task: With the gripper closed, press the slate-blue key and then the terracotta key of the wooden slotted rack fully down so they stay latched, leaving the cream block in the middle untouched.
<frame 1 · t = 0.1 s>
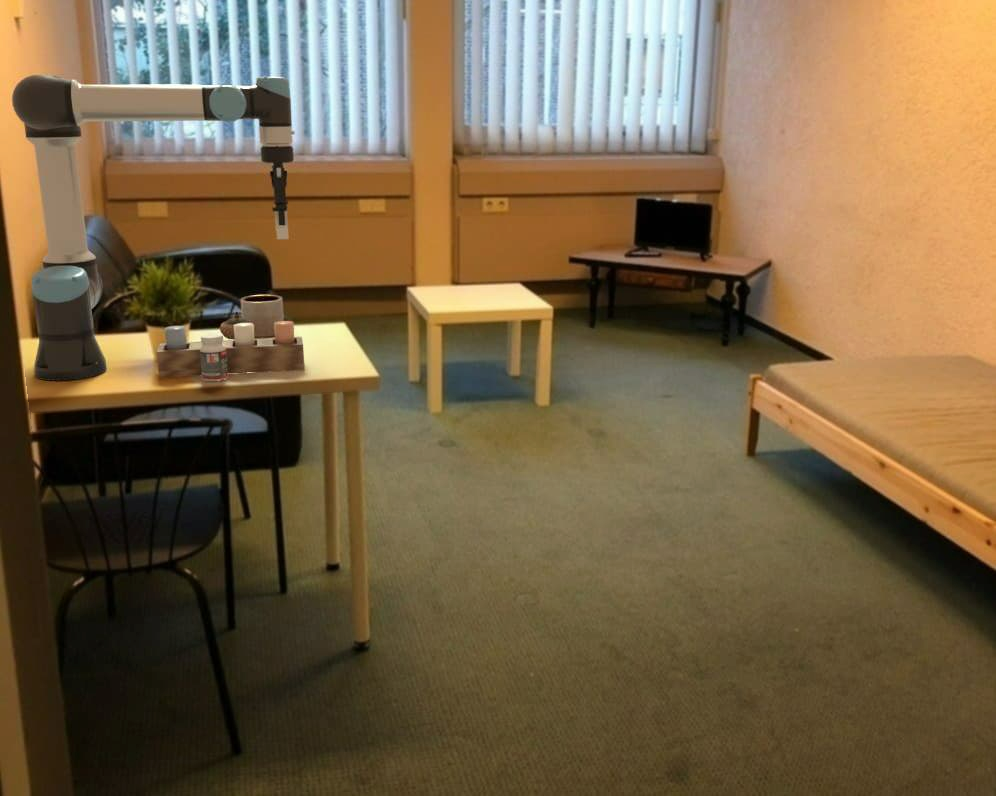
hand: (282, 235, 245), 28 cm above the table, fingers open, 13 cm apart
pill bottle: (215, 379, 225), on the table
cream block: (244, 336, 231), point 8 cm above the table, slide at 0.0 cm
planter: (263, 334, 267), on the table
slate key: (176, 340, 228), point 8 cm above the table, slide at 0.0 cm
acorn: (239, 351, 249), on the table
terracotta key: (284, 334, 233), point 8 cm above the table, slide at 0.0 cm
wooden slotted rack: (233, 369, 232), on the table
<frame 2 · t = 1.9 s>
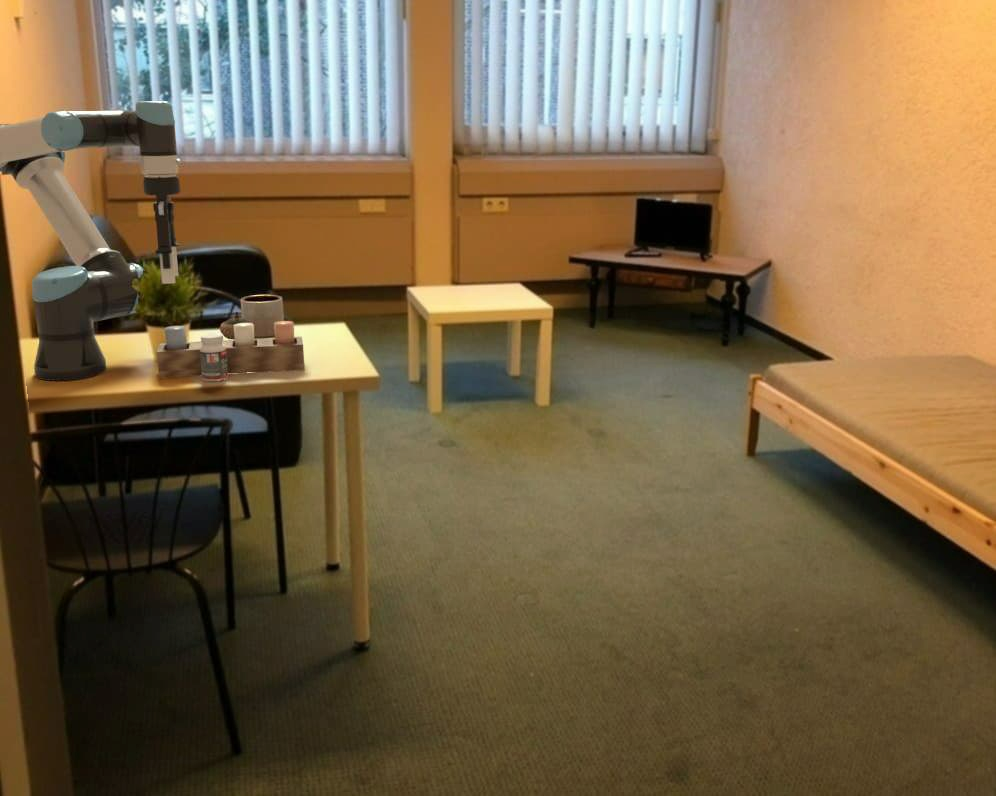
hand: (170, 279, 224), 21 cm above the table, fingers open, 9 cm apart
nothing on the table moved.
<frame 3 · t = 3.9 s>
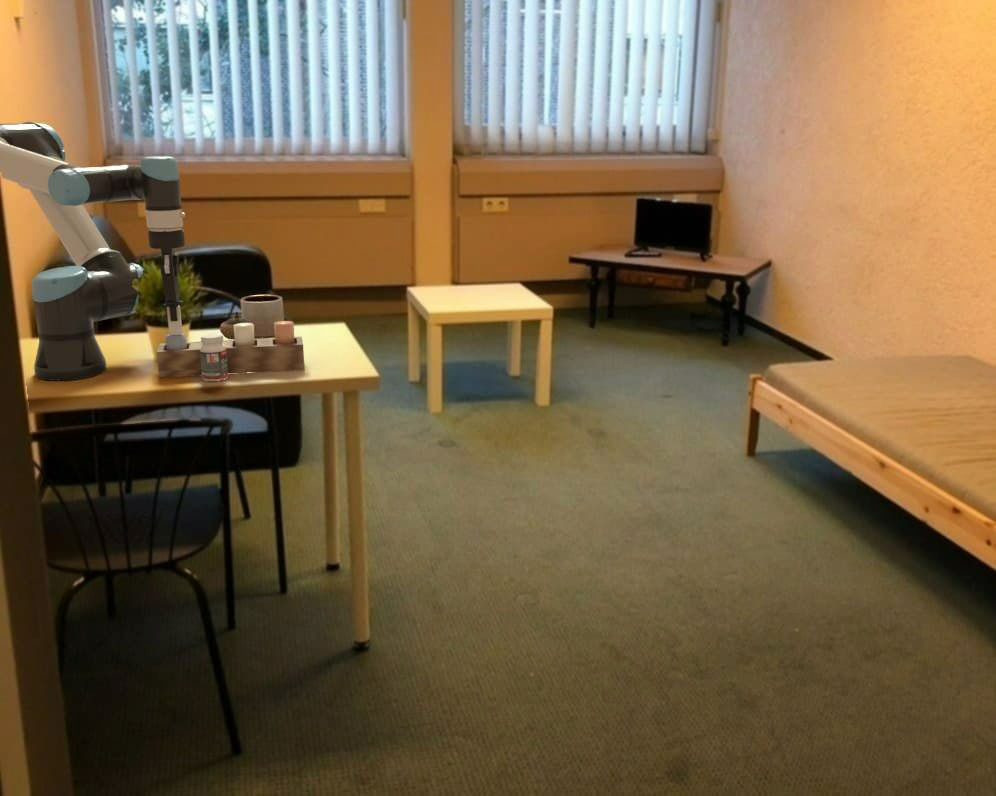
hand: (176, 334, 227), 9 cm above the table, fingers closed
slate key: (176, 347, 228), point 6 cm above the table, slide at 1.6 cm, touching gripper
everything else where it was.
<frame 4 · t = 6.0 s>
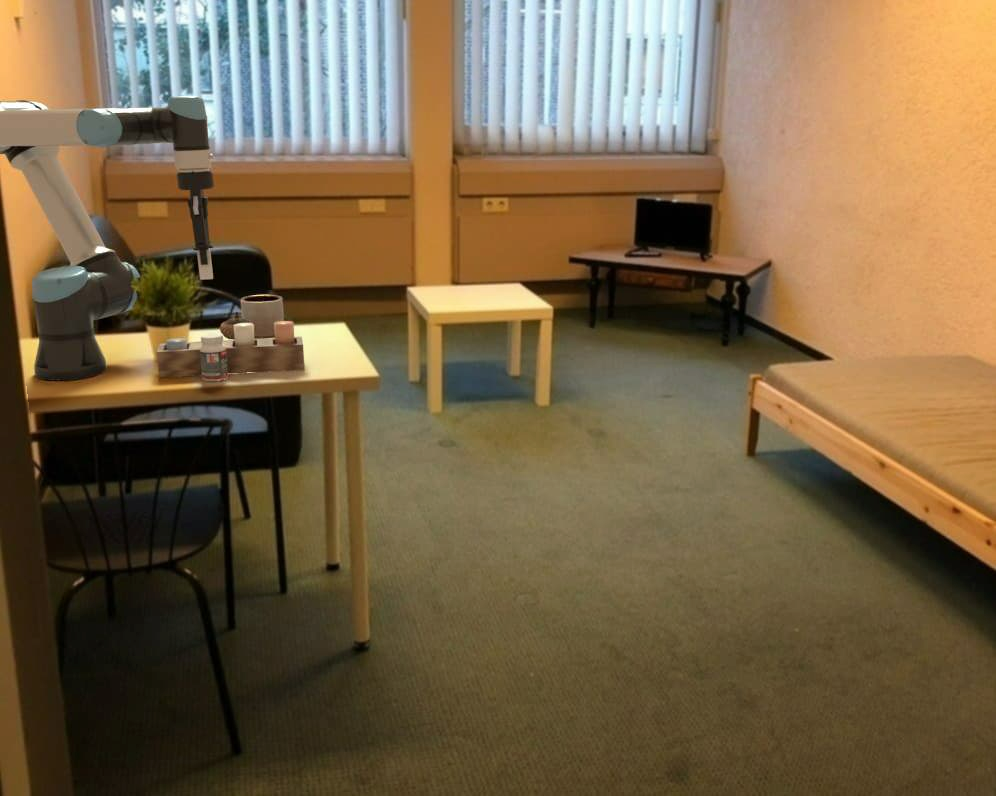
hand: (206, 278, 225), 21 cm above the table, fingers closed
slate key: (177, 352, 229), point 5 cm above the table, slide at 2.9 cm
everything else where it was.
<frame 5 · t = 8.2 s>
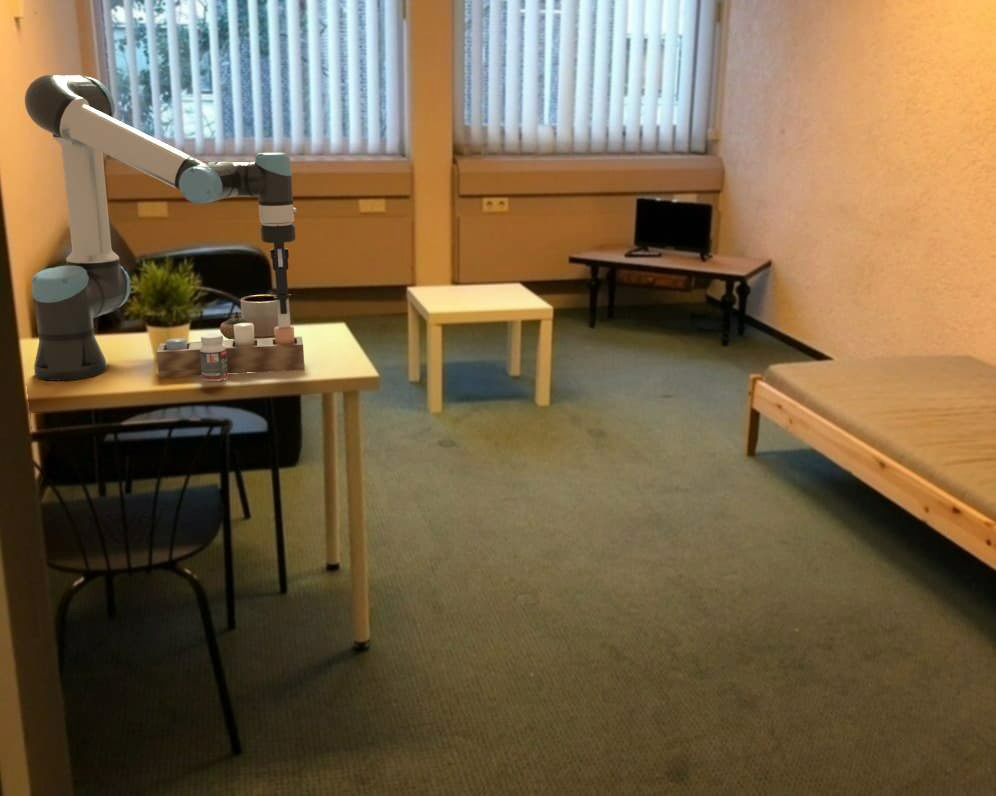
hand: (284, 326, 232), 9 cm above the table, fingers closed
terracotta key: (284, 339, 233), point 6 cm above the table, slide at 1.1 cm, touching gripper
everything else where it was.
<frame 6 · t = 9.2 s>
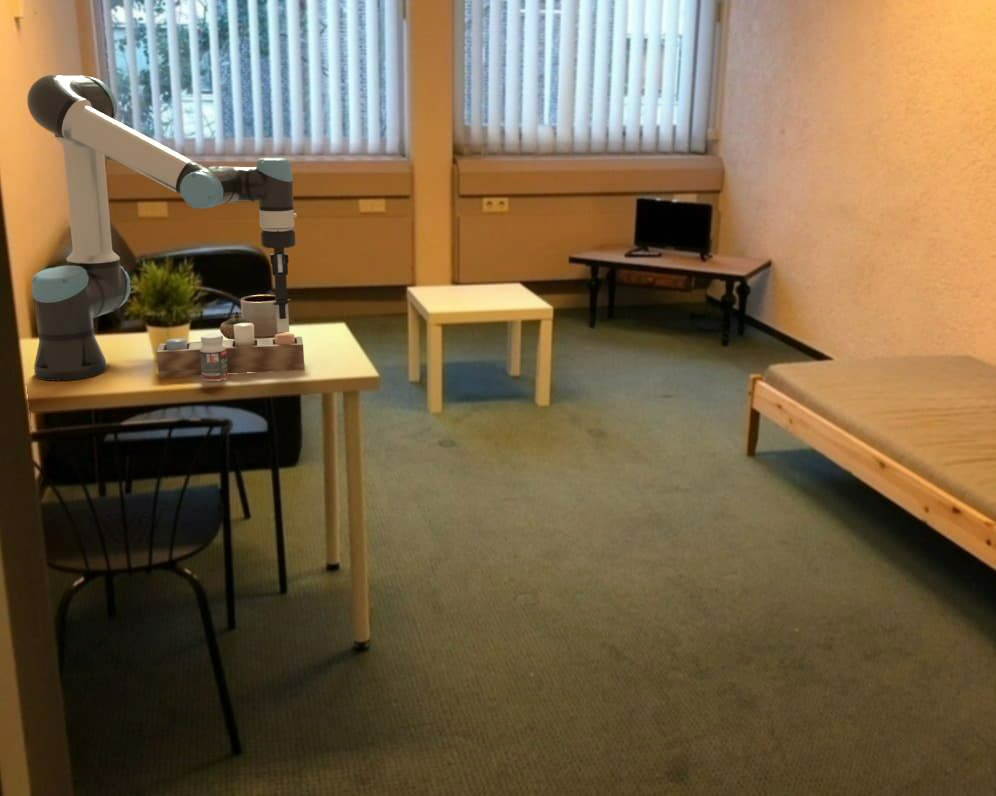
hand: (283, 331, 233), 8 cm above the table, fingers closed
terracotta key: (285, 346, 234), point 5 cm above the table, slide at 2.8 cm
everything else where it was.
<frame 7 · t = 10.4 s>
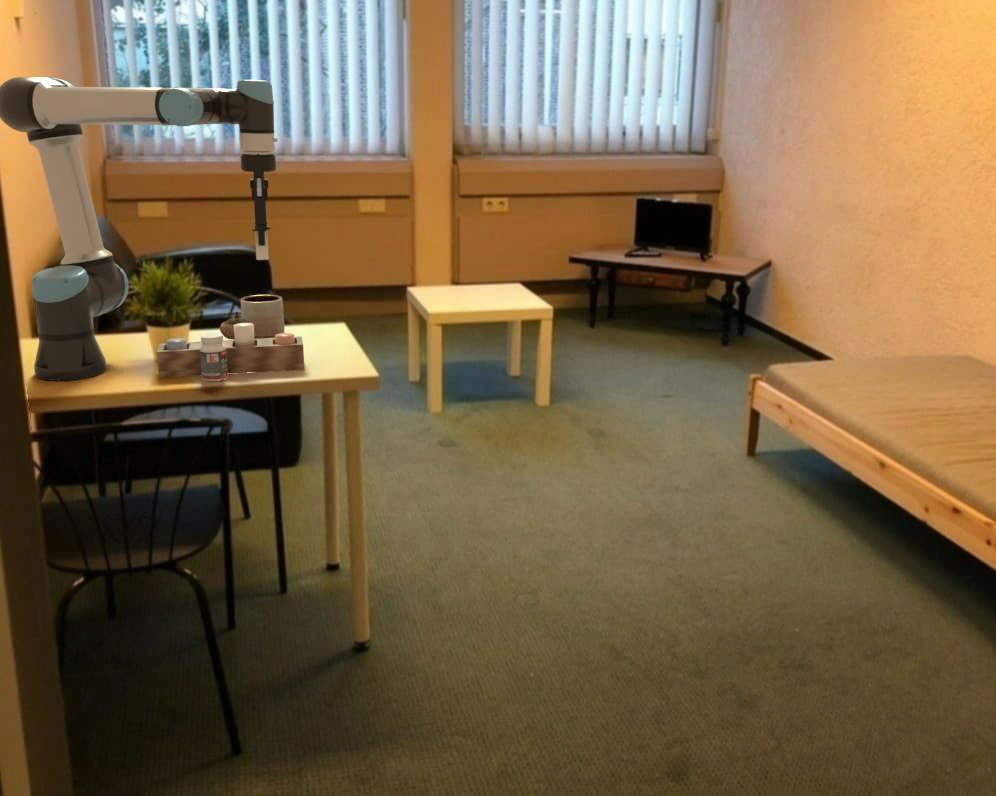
hand: (262, 259, 230), 25 cm above the table, fingers closed
nothing on the table moved.
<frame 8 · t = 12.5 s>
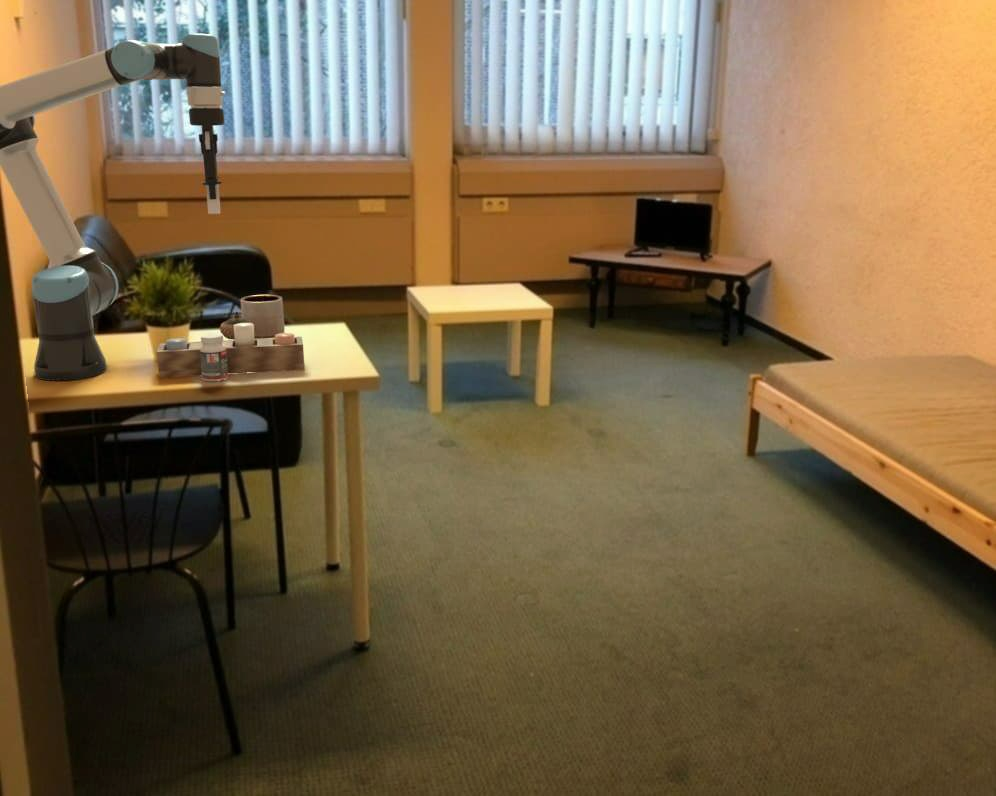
hand: (214, 213, 233), 34 cm above the table, fingers closed
nothing on the table moved.
at the end: slate key slide at 2.9 cm; terracotta key slide at 2.8 cm; cream block slide at 0.0 cm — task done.
